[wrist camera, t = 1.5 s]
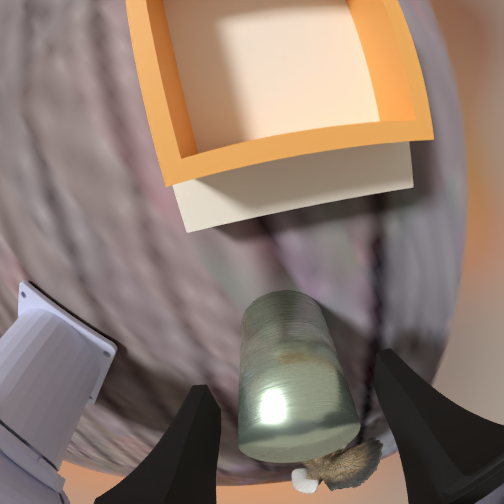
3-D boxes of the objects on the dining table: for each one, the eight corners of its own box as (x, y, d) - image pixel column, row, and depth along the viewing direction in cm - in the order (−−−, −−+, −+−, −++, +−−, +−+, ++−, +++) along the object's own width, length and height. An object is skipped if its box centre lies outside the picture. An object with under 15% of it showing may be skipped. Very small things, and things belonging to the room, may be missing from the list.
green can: (289, 363, 16) (303, 467, 9) (225, 334, 14) (214, 449, 8) (339, 314, 14) (383, 421, 8) (274, 275, 13) (293, 396, 7)
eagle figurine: (375, 446, 20) (399, 418, 15) (347, 506, 15) (363, 505, 10) (308, 427, 24) (306, 393, 19) (275, 483, 19) (261, 471, 14)
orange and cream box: (391, 178, 11) (451, 203, 7) (196, 217, 12) (169, 262, 8) (329, -42, 6) (356, -90, 2) (142, -12, 7) (104, -55, 3)
